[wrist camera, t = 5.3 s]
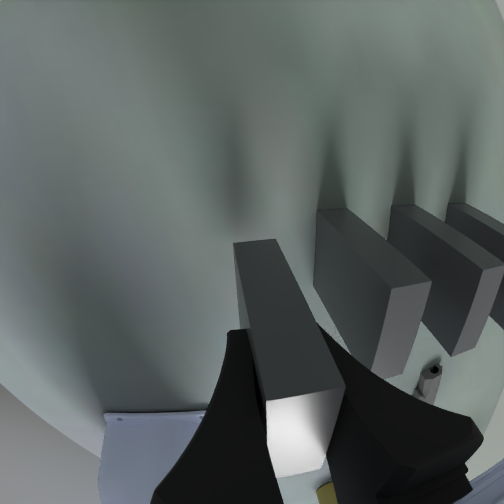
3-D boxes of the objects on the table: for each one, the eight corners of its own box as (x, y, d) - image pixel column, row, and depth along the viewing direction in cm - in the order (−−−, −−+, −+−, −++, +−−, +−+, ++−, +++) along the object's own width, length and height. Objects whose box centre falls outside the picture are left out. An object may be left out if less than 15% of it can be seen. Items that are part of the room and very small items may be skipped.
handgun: (327, 408, 26) (438, 359, 26) (338, 465, 33) (419, 430, 33) (333, 423, 24) (446, 371, 24) (341, 475, 31) (424, 439, 32)
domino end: (436, 267, 20) (507, 333, 13) (448, 203, 18) (536, 257, 11) (452, 264, 20) (522, 325, 13) (465, 202, 18) (550, 253, 11)
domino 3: (381, 276, 19) (451, 356, 12) (391, 205, 17) (483, 270, 10) (403, 272, 20) (474, 347, 13) (414, 204, 18) (506, 264, 10)
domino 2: (313, 286, 19) (367, 383, 12) (316, 210, 17) (391, 288, 10) (340, 282, 19) (402, 373, 12) (346, 208, 17) (431, 281, 10)
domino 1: (240, 330, 15) (267, 479, 8) (233, 242, 13) (266, 401, 6) (276, 326, 16) (320, 469, 9) (275, 238, 13) (346, 385, 6)
